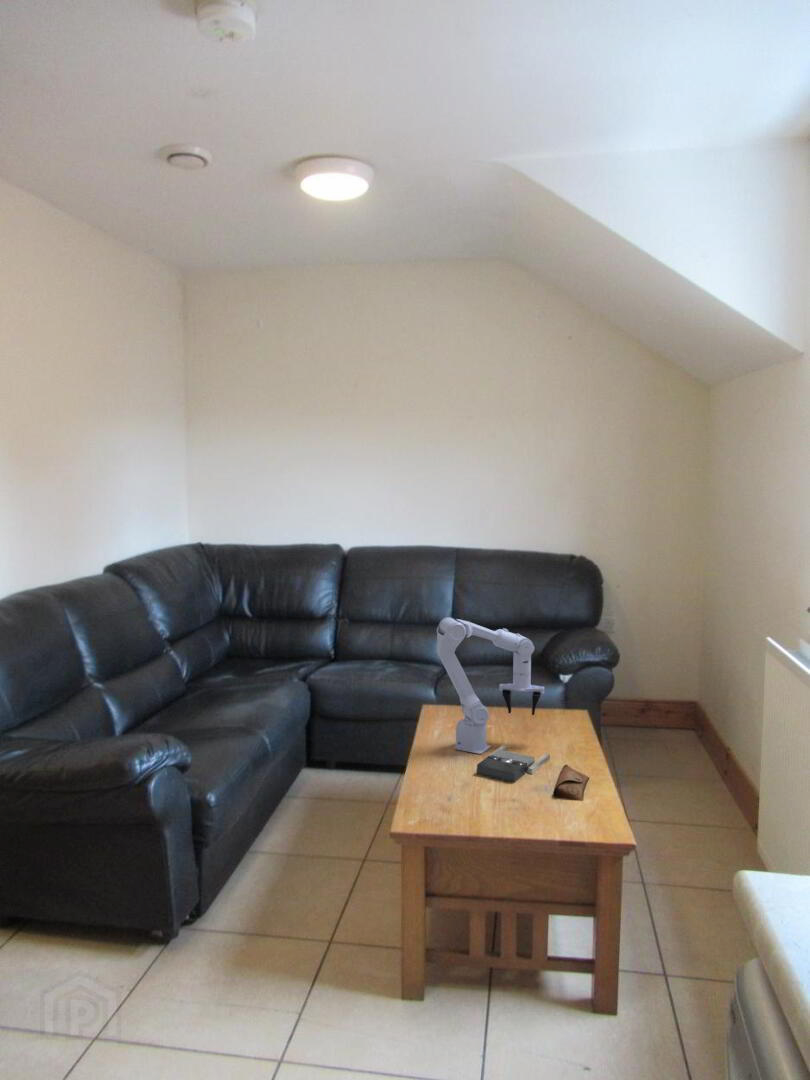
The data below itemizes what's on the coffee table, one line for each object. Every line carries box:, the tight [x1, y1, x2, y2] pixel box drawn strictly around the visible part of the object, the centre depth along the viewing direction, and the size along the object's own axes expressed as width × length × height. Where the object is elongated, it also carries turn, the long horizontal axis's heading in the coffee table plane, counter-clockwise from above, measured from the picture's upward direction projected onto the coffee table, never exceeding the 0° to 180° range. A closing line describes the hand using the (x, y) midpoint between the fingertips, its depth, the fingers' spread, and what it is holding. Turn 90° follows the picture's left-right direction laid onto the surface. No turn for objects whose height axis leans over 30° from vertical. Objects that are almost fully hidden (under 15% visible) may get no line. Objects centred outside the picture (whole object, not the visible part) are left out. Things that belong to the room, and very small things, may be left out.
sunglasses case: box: [552, 764, 590, 802], centre depth 217 cm, size 18×7×7 cm, turn 161°
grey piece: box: [491, 749, 536, 774], centre depth 232 cm, size 12×9×3 cm
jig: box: [483, 744, 551, 775], centre depth 236 cm, size 16×14×2 cm
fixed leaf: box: [476, 755, 527, 784], centre depth 227 cm, size 12×9×3 cm
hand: (521, 713), depth 250 cm, fingers open, 7 cm apart
